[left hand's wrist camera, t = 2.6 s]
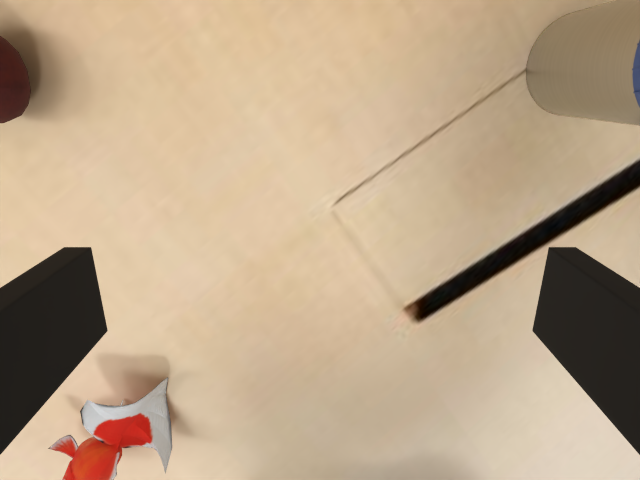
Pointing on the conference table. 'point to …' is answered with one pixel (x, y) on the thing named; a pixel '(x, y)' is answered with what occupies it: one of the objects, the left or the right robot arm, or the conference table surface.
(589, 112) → the jar
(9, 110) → the maroon ball
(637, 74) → the lid
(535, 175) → the conference table surface
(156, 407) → the fish
